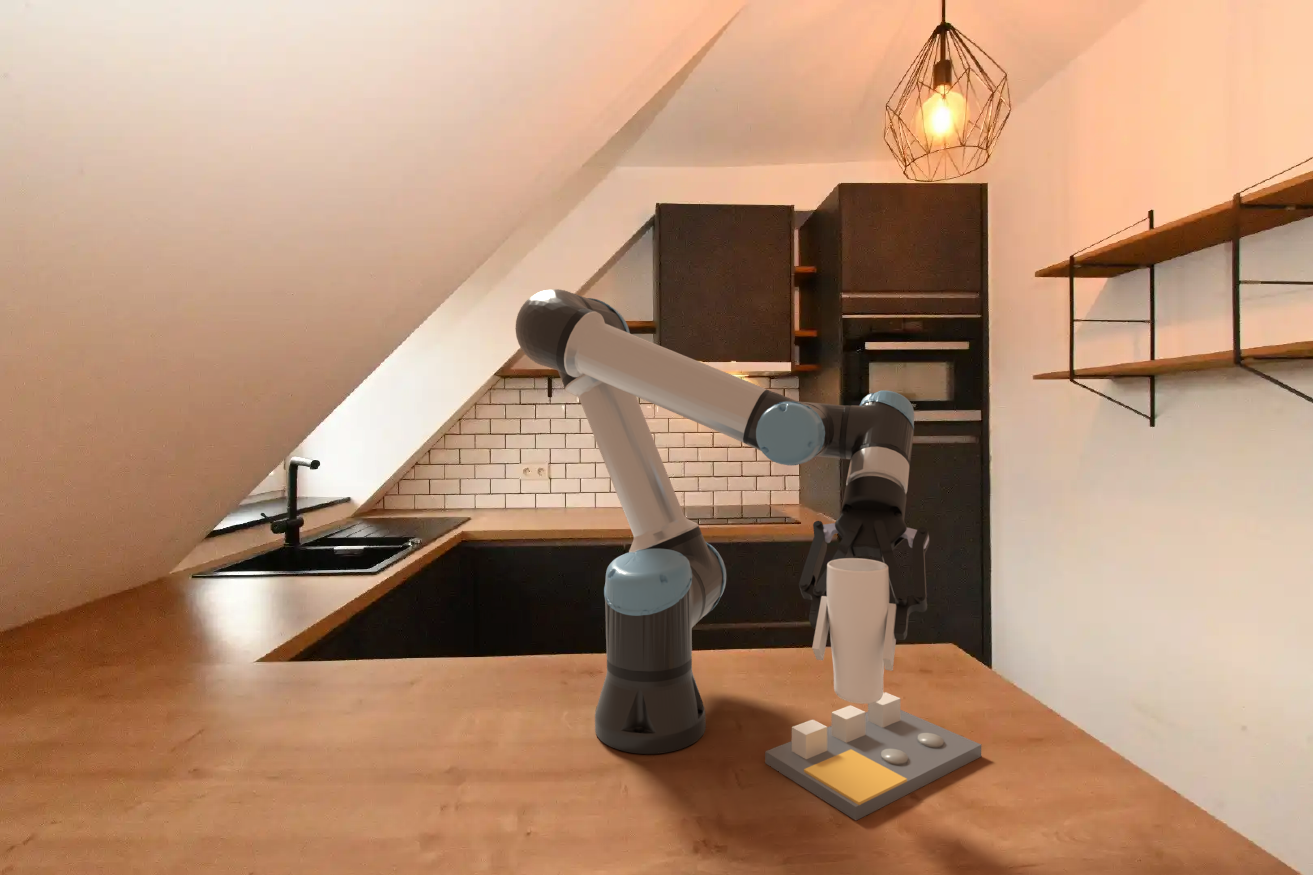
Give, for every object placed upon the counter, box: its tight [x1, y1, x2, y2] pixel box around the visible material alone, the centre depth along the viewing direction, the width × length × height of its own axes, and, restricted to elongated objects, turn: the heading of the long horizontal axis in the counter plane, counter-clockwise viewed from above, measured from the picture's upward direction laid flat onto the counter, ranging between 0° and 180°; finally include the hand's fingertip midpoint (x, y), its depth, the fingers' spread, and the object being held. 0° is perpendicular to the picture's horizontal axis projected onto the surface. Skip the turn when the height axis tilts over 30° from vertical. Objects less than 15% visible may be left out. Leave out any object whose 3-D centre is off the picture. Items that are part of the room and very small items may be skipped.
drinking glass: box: [826, 557, 890, 705], centre depth 76 cm, size 7×7×15 cm
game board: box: [764, 691, 982, 821], centre depth 84 cm, size 14×23×4 cm, turn 123°
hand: (852, 659), depth 73 cm, fingers closed on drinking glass, 7 cm apart
